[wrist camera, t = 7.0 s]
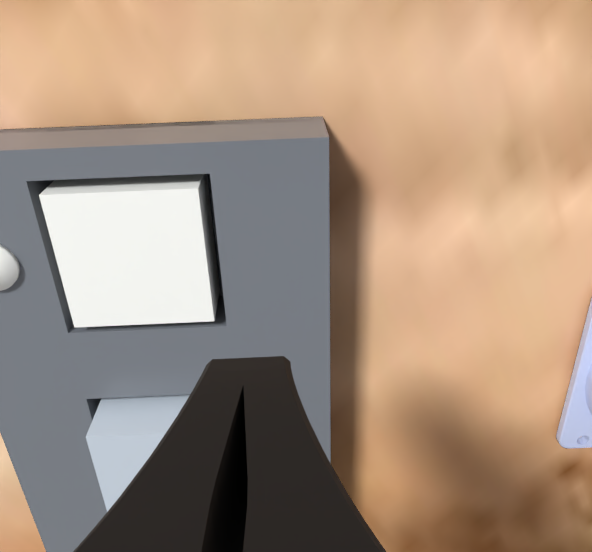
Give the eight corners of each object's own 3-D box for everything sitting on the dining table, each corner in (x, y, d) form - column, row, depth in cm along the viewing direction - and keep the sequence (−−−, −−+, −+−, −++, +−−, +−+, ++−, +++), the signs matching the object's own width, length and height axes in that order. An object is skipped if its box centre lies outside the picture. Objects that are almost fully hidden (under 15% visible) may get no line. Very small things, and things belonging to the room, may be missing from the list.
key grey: (226, 390, 20) (221, 430, 19) (236, 478, 22) (233, 521, 21) (102, 396, 20) (85, 437, 19) (124, 483, 22) (111, 526, 21)
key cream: (205, 166, 18) (197, 188, 16) (219, 290, 20) (214, 321, 18) (62, 172, 18) (38, 195, 16) (92, 295, 20) (74, 327, 18)
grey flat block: (322, 116, 18) (329, 139, 15) (327, 570, 29) (331, 624, 26) (-59, 132, 18) (-112, 156, 15) (93, 581, 29) (76, 637, 26)
